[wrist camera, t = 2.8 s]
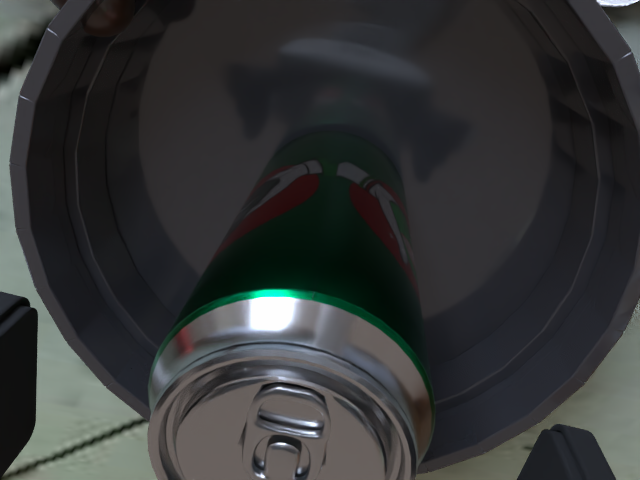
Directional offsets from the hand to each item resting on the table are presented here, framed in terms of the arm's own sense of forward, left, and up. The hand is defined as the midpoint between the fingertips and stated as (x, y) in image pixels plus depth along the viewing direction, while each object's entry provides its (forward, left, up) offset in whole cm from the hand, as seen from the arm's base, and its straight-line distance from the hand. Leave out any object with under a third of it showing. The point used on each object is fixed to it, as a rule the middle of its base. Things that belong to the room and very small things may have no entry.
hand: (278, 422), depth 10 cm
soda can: (0, 0, -11) cm, 11 cm away
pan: (0, 0, -11) cm, 11 cm away
